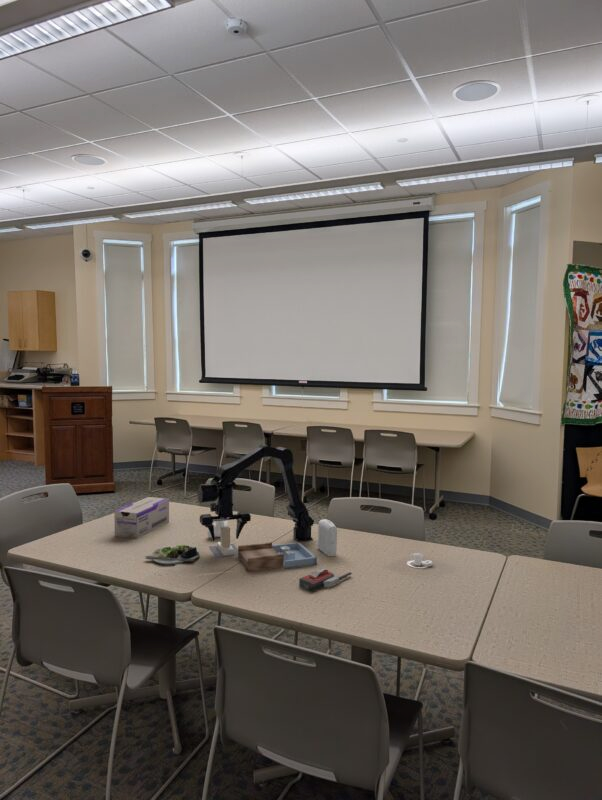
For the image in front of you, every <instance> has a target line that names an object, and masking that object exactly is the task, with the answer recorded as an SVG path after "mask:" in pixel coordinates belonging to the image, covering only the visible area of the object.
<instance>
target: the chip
mask: <svg viewBox="0 0 602 800" xmlns="http://www.w3.org/2000/svg"><path fill="white" fill-rule="evenodd" d="M285 551H290V548H289V547H288V546H284V547H280V554H284V557H285Z"/></svg>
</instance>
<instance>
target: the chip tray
mask: <svg viewBox="0 0 602 800" xmlns="http://www.w3.org/2000/svg"><path fill="white" fill-rule="evenodd" d="M284 546H288V547H289V548H290V551H293V552H294V553H295V559H293V560H285V557H284V567H283V568H284V569H293V568H294V569H295V568H302V567H307V566H308V567H309V566H316V565H318V560H317V559H318V558H317V556H315V554H313V553H312V552H311V551H310V550H309V549H307V547H305V546H304V545H303V544H302V543H301V542H300V541H297V542H289V543H280V544H278V543H277V544H272V547H273V548H274V549H275V550H276V551H277V552H278V553H279V554H280V547H284Z"/></svg>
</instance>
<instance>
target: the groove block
mask: <svg viewBox="0 0 602 800" xmlns="http://www.w3.org/2000/svg"><path fill="white" fill-rule="evenodd" d="M272 545H273V542H262V543H253V544H244V545H238V546H237V549H238V555H237V557H238V559H239V560H240V561H241V563H242V564H243V566H245V569H246V570H247V572H252V571H253V572H254V571H261V570H268V569H276V568H277V569H278V568H284V554H279V553H278V552H277V551H276V550H275V549H274V548H273V547H272Z"/></svg>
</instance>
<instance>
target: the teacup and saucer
mask: <svg viewBox="0 0 602 800" xmlns="http://www.w3.org/2000/svg"><path fill="white" fill-rule="evenodd" d="M409 557H410V560H407V562H406V565H408V566H409V567H410V568H415V569H426V568H429V567H430V566H432V565H433V561H432V560H427V559H426V560H423V554H422V553H420V552H419V553H418V552H415V553H413V554H410V555H409ZM412 557H413V558H412ZM411 563H414V565H415V566H414V565H411ZM420 566H421V567H420Z"/></svg>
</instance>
